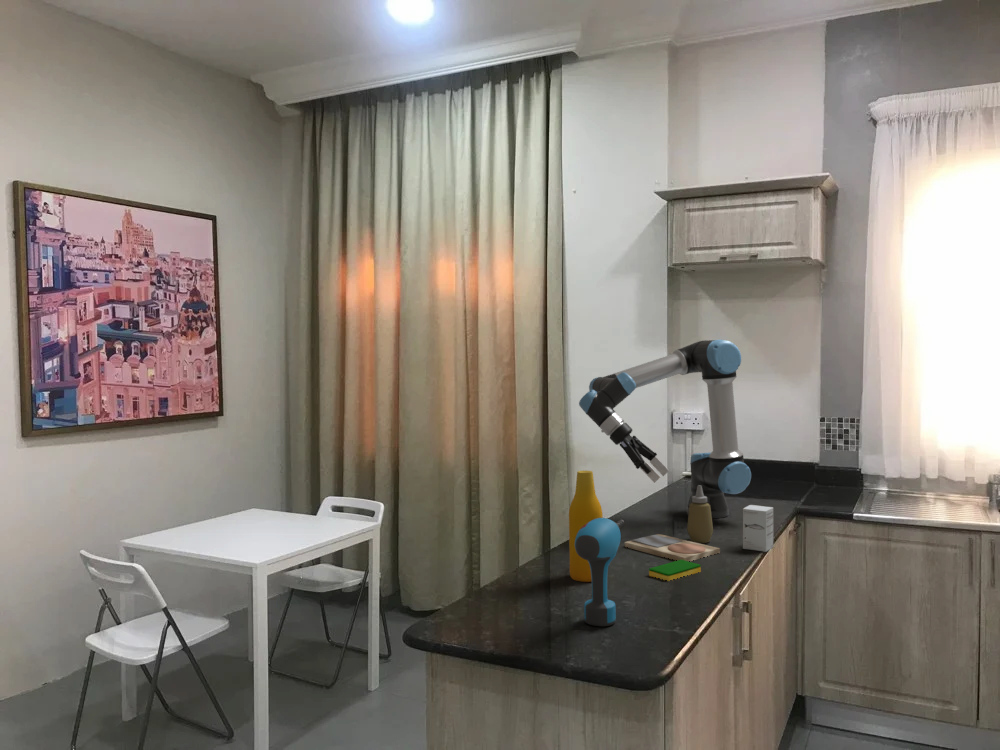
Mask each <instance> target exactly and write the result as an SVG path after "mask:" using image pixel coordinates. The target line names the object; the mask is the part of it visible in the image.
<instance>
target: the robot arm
mask: <svg viewBox="0 0 1000 750" xmlns="http://www.w3.org/2000/svg"><path fill="white" fill-rule="evenodd" d="M741 363H742V353H741V351H740V349H739V348H738V346H737V345H735V343H733V342H732V341H730V340H727V339H726V340H724V339H712V340H710V339H709V340H707V339H706V340H705V339H704V340H699V341H696V342H693V343H691V344H688V345H686V346H683V347H681V348H678V349H675V350H673V352H672V353H671V354H669V355H665V356H662V357H659V358H657V359H653V360H651V361H648V362H645V363H641V364H639V365H635V366H633V367H629V368H626V369H624V370H621V371H617V372H614V373H612V374H607V375H606V376H598V377H595V378H593V379H592V380H591V381H590V382H589V386H588V390H589V391H587V392H586V393H585V394H584V395H583V396H582V397H581V398H580V400H579V402H578V406H579V407H580V408H581V409H582V411H583V412H584V413H585V414H586V415H587V416H588V417H589V418H590V419H591V420H592V421H593V422H594V423H595V424H596V425H597V426H598V428H600V430H601V433H604V434H605V435H606V436H608V437H609V439H610V440H611V442H613V443H614V445H617V446H618V445H619V447H621V449H623V451H624V452H625V454H626V455H627V456H628V457H627V458H629V459H630V461H631V462H632V464H633V465H634V467H635V469H637V470H639V469H640V470H642V472H643V473H644V474H645V475H646V476H647V477H648V478H649V479H650V480H651V481H652V482H653V483H657V481H658V480H659V479H660V478H661V476H662V477H664V476H666V474H668V472H670V469H668V467H667V466H666V465H665V464H664V463H663V462H662V461H661V460H660V459H659V458H658V457H657V455H658V454H657V452H655V451H653V450H652V449H651V448H649V447H648V446H647V445H646V444H645V443H644V442H642V441H641V440H640V439H639V438H637V436H636V435H631V434H632V432H633V428H632V427H631V426H630V425H629V424H628V423H627V422H625V420H624V418H622V417H621V416H620V415H619V414H618V413H617V412H616V410H614V408H616V407H617V406H618V405H619V404H621V402H623V401H624V400H625V399H626V398H628V396H630V395H631V394H632V393H633V392H634V391H635V390H636V389H637V388H641V387H643V386H646V385H650V384H653V383H656V382H658V381H661V380H665V379H667V378H670V377H674V376H676V375H677V376H678V375H681V376H685V375H689V374H695V373H701V378H702V379H701V380H702V381H703V382H705V383H706V386H707V397H708V407H709V419H710V429H711V430H710V431H711V442H712V451H711V452H697V453H692V455H691V456H690V458H691V459H690V464H689V465H690V479H691V480H690V483H691V485H690V486H691V489H690V491H691V492H690V496H689V499H688V503H687V507H686V514H687V515H689V505H690V504H691V503H693V502H692V497H693V496H696V491H697V487H698V485H701V486H702V490H703V494H704V496H706V497H707V503H708V504H709V505H710V507H711V516H712V519H719V518H721V519H722V518H726V517H729V515H730V514H729V513H730V508H729V507H728V503H727V499H726V497H725V494H729V495H730V494H731V495H737V494H741V493H742V492H744V491H745V490H746V489H747V487H749V485H750V483H751V479H752V472H751V468H750V467H749V466H748V465H747V464H746V463H745V460H744V453H743V452H742V451H741V450H739V444H738V431H737V421H736V419H737V418H736V409H735V398H734V386H733V385H734V384H733V382H734V380H735V379H736V378H737V370H739V367H740V366H741ZM644 458H645V459H646V460H648V461H649V463H648V462H647V461H646V462H645V459H644ZM651 465H652V466H651ZM653 467H654V468H655V469H656V470H655V469H654V468H653ZM660 474H661V475H660Z"/></svg>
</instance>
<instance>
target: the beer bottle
mask: <svg viewBox="0 0 1000 750" xmlns="http://www.w3.org/2000/svg"><path fill="white" fill-rule="evenodd" d="M597 518H604V516H603V509H602V505H601V503H600V501H599V499H598V497H597V494H596V489H595V480H594V473H593V471H592V470H578V471H576V482H575V491H574V496H573V498H572V501H571V502H570V505H569V509H568V532H569V533H568V534H569V535H568V537H569V538H568V539H569V543H568V544H569V547H568V549H569V576H570V578H571V579H572V580H574V581H577V582H581V583H582V582H583V583H590V582H591V583H592V578H591V569H590V565H589V562H588V560H585V559H583V558H581V557H580V556H579V555H578V554H577V552H576V549H575V539H576V535H577V533H578V531H579V530H580V529H581V527H583V526H584V525H585V524H587V523H588V522H590V521H592V520H594V519H597Z"/></svg>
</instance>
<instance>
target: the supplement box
mask: <svg viewBox="0 0 1000 750" xmlns="http://www.w3.org/2000/svg"><path fill="white" fill-rule="evenodd" d="M774 509H775V508H774V507H772V506H763V505H757V504H756V505H755V504H749V505H747V506H745V507H744V508H742V549H744V550H751V551H757V552H763V553H767V552H768V551H770V550H771V549H772V548H774Z"/></svg>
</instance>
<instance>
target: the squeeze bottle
mask: <svg viewBox="0 0 1000 750" xmlns="http://www.w3.org/2000/svg"><path fill="white" fill-rule="evenodd" d="M692 502H693V503H691V504H690V505H689V515H688V514H687V515H688V517H687V525H686V526H687V529H686V530H687V533H688V536H689V539H690V541H691V542H695V543H699V544H707V543H710V541H711V538H712V535H713V533H714V527H713V518H712V516H711V507H710V505H709V504H708V503H707V497H706V496H704V494H703V490H702V486H701V485H698V487H697V491H696V496H693V497H692Z"/></svg>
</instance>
